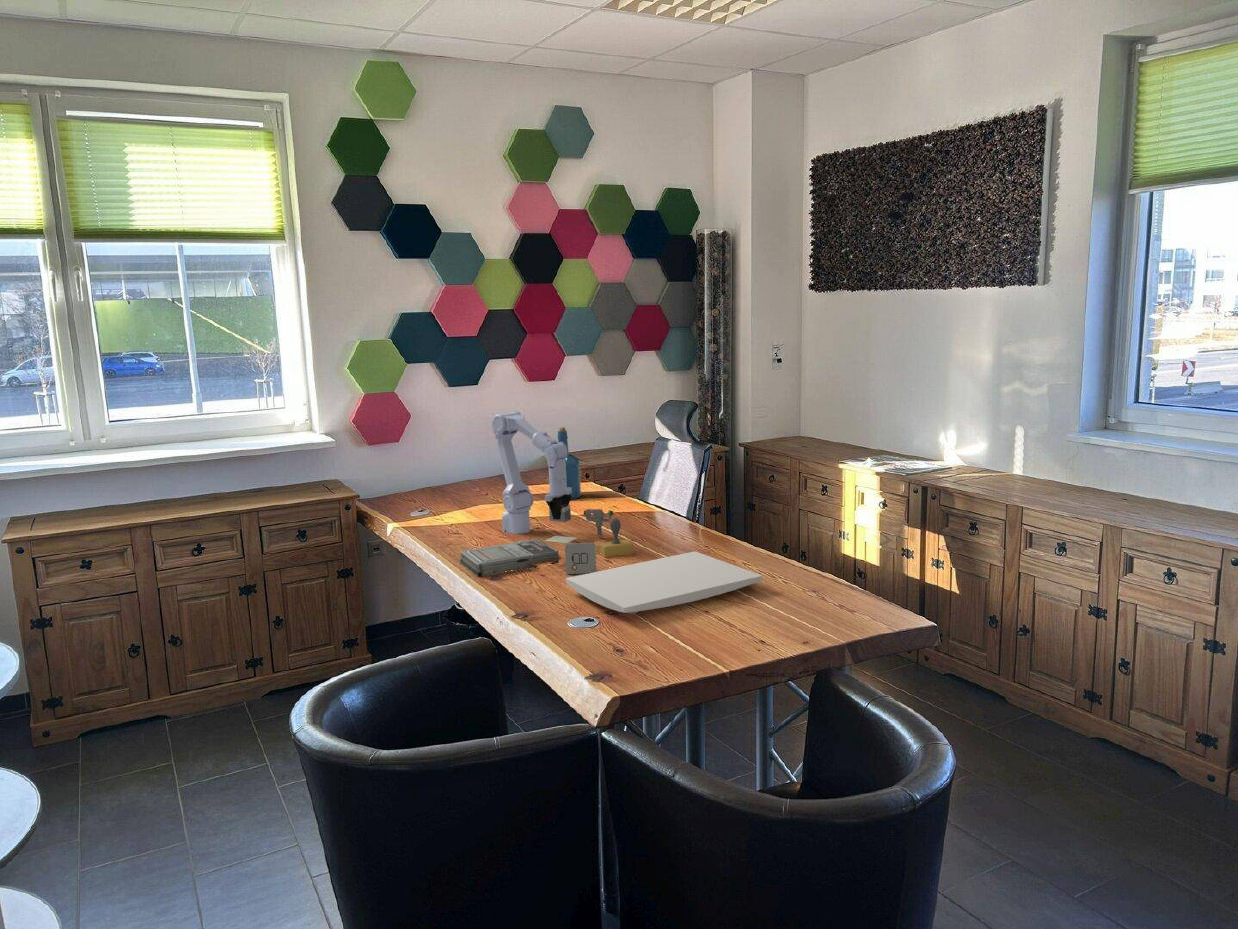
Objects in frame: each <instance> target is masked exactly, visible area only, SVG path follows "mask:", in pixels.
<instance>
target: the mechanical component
mask: <svg viewBox="0 0 1238 929" xmlns="http://www.w3.org/2000/svg"><path fill="white" fill-rule="evenodd" d="M583 515H584V516H585V520H586V521H587V522H595V524H594V525H595V527H596V534H597V535H598V536H599V535H600V536H602V535H603V534H602V533H603V532H602V526H603V523H606V522H610V521H611V520H612V517H613V516H614V510H611V509H609V510H608V511H607V513H605V512H604V510H603V509H602V508H601V509H600V508H597V509H596V508H594V509H593V508H590V509H589V508H588V509H587V508H586V510H583ZM592 515H593V516H592ZM604 517H605V518H604ZM606 517H608V518H606Z"/></svg>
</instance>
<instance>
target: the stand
mask: <svg viewBox="0 0 1238 929" xmlns="http://www.w3.org/2000/svg"><path fill="white" fill-rule="evenodd" d="M576 539H578V537H570V536H563V535H562V536H561V535H554V536H552V537H549V538H547V539H545V540H544V542H550V543H551V542H553V543H562V544H569V543H571V542H573V541H574V540H575V541H576Z"/></svg>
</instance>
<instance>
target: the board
mask: <svg viewBox="0 0 1238 929" xmlns="http://www.w3.org/2000/svg"><path fill="white" fill-rule="evenodd" d="M761 581H763V575H761V574H759V573H756V572H754V571H750V570H747V569H746V568H742V567H739V566H737V565H735V564H731V563H728V562H726V561H723V560H720V559H717V558H714V557H712V556H709V555H706V554H703V553H701V552H699V551H690V552H686V553H681V554H677V555H671V556H666V557H662V558H657V559H656V558H655V559H652V560H648V561H642V562H637V563H632V564H628V565H622V566H618V567H614V568H613V567H612V568H609V569H605V570H604V569H603V570H598V571H596V572H593V573H589V574H578V575H574V576H570V577H566V578H565V583H566V584H567V585H568V586H569V587H571V588H572V589H573V590H575V591H577V593H579V594H581V595H582V596H583V597H585V598H587V599H588V600H590V601H592V602H594V603H595V604H598V605H600V606H602V607H604V608H608V609H610V610H613V611H617V612H620V613H629V614H630V615H636V614H637V613H638V612H644V611H648V610H649V611H650V610H655V609H661V608H666V607H672V606H677V605H682V604H687V603H690V602H691V603H692V602H696V601H700V600H703V599H708V598H711V597H714V596H718V595H722V594H725V593H728V592H732V591H736V590H739V589H741V588H745V587H747V586H750V585H753V584H755V583H758V582H761Z"/></svg>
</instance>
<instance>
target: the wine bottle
mask: <svg viewBox="0 0 1238 929" xmlns="http://www.w3.org/2000/svg"><path fill="white" fill-rule="evenodd" d="M568 437H569V436H568V431H567V430H566V427H564V426H563V427H561V426H559V427H558V430H557V438H556V439H557V442H564V443H565V444H566V445H567V447H568V448H569V443H568V439H569V438H568ZM565 462H566V483H567V487H572V493H570V494H568V495H572V498H571V500H570V501H572V500H576V499H578V498H580V497H581V496H582V489H581V468H580V467H581V466H580V461H579V459H578V457H576V456H575V455H574V454H572V453H569V454H568V457H567V458H566V459H565ZM547 467H548V468H549V466H548V465H547ZM548 482H549V483H548V485H549V486H548V487H550V480H549V479H548Z"/></svg>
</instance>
